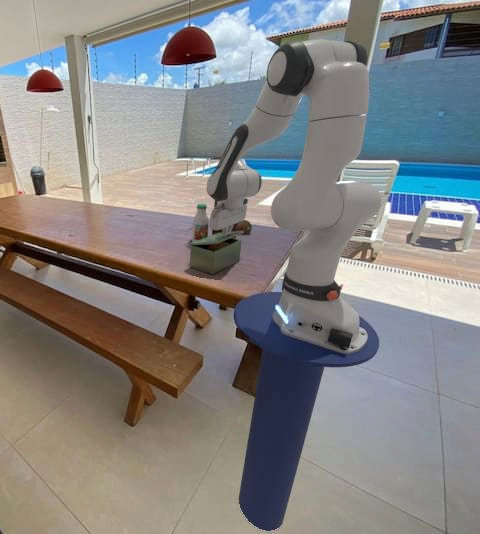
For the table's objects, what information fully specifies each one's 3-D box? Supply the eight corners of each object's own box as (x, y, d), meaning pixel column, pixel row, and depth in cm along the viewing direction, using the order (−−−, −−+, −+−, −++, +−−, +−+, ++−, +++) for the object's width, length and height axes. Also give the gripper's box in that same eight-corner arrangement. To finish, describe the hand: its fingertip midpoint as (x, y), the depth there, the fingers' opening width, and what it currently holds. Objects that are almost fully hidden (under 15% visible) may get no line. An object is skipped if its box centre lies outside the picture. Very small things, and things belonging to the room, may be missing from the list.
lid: (243, 232, 129) (243, 230, 129) (216, 244, 118) (215, 242, 118) (218, 234, 139) (218, 232, 139) (190, 245, 128) (190, 243, 128)
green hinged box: (239, 261, 134) (241, 240, 131) (212, 274, 123) (214, 251, 120) (216, 254, 143) (218, 234, 139) (189, 266, 132) (190, 245, 128)
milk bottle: (189, 243, 159) (190, 205, 151) (197, 239, 164) (199, 202, 155) (202, 246, 154) (204, 207, 146) (210, 242, 159) (213, 204, 150)
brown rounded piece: (221, 234, 169) (222, 220, 166) (221, 232, 172) (222, 218, 168) (250, 236, 165) (252, 221, 161) (250, 234, 167) (252, 219, 164)
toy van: (228, 260, 133) (230, 243, 130) (217, 267, 128) (218, 249, 125) (218, 257, 137) (219, 241, 134) (206, 263, 132) (207, 246, 129)
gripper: (220, 207, 111) (217, 243, 116) (250, 198, 122) (247, 231, 128) (206, 205, 115) (204, 240, 121) (236, 196, 127) (233, 228, 132)
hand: (226, 235), depth 125 cm, fingers closed, pressing on lid
